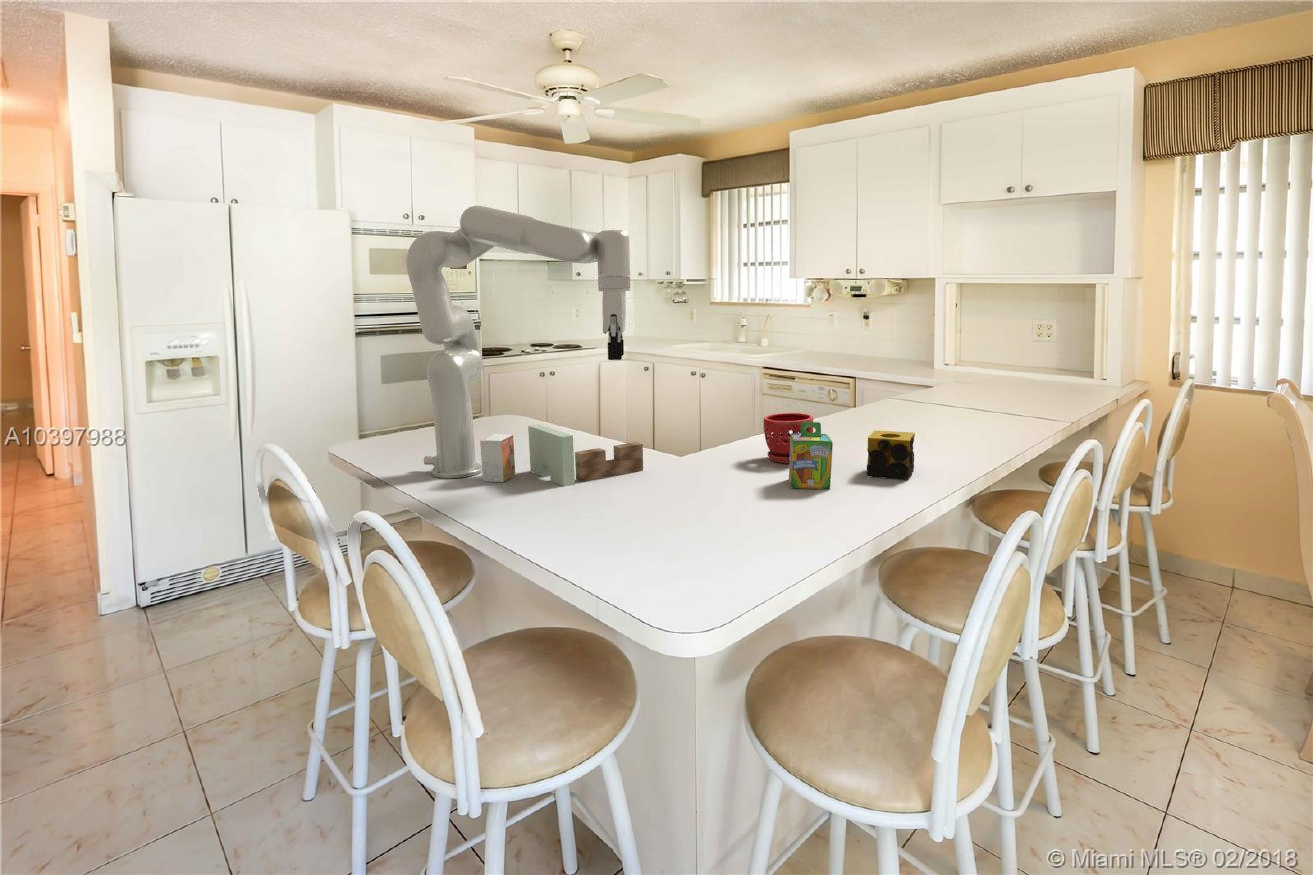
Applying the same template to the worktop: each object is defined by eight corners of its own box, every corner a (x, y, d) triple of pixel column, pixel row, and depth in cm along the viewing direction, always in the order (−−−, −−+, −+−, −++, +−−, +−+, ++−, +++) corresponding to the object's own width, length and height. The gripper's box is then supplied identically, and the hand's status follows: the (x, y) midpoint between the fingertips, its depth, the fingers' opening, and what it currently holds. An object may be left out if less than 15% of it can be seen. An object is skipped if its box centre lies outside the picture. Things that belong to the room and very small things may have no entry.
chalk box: (791, 489, 171) (792, 426, 168) (788, 479, 180) (789, 419, 177) (831, 490, 170) (834, 427, 167) (826, 479, 179) (828, 419, 176)
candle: (914, 471, 185) (916, 432, 183) (909, 481, 176) (911, 440, 174) (872, 467, 190) (874, 429, 188) (865, 477, 181) (867, 437, 179)
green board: (530, 471, 191) (528, 425, 188) (541, 469, 192) (538, 424, 190) (563, 486, 176) (561, 437, 174) (574, 484, 178) (572, 435, 176)
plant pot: (797, 452, 207) (798, 410, 204) (821, 463, 195) (823, 418, 192) (754, 456, 203) (755, 413, 200) (777, 467, 191) (778, 422, 188)
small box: (503, 483, 180) (501, 440, 178) (482, 482, 181) (479, 440, 179) (516, 474, 188) (513, 434, 186) (495, 473, 189) (493, 433, 187)
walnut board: (582, 482, 180) (581, 454, 178) (575, 479, 182) (574, 452, 181) (643, 470, 190) (642, 443, 188) (636, 468, 192) (636, 442, 191)
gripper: (601, 284, 182) (603, 354, 186) (595, 285, 165) (597, 361, 169) (631, 284, 182) (633, 354, 186) (628, 284, 165) (630, 361, 169)
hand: (616, 357), depth 177 cm, fingers open, 9 cm apart
